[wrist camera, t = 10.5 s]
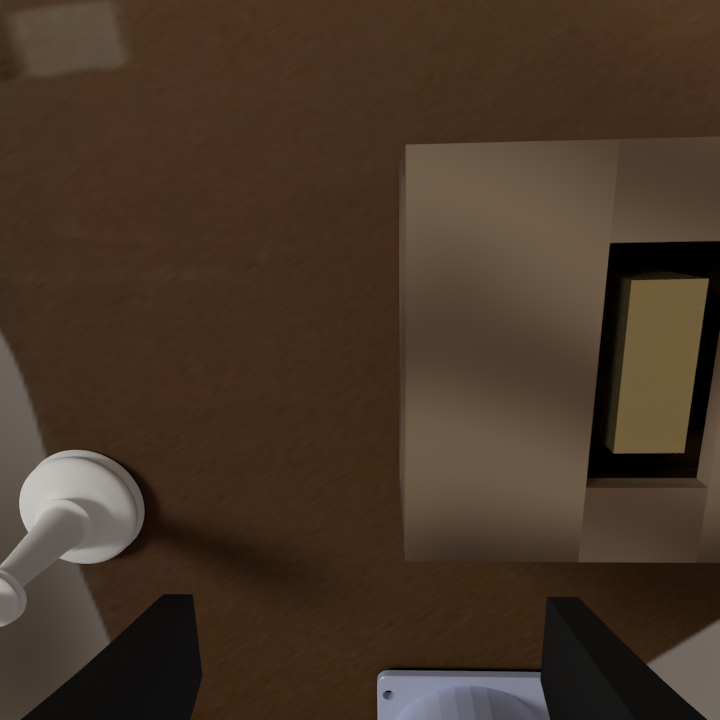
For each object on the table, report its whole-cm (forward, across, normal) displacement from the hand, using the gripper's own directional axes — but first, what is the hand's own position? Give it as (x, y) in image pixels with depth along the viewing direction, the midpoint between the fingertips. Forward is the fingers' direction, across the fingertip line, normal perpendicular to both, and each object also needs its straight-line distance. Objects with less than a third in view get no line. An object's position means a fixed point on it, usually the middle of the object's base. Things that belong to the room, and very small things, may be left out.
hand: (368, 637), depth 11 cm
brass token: (+10, -8, -4) cm, 14 cm away
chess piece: (+11, +12, +3) cm, 16 cm away
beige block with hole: (+10, -8, -4) cm, 14 cm away
